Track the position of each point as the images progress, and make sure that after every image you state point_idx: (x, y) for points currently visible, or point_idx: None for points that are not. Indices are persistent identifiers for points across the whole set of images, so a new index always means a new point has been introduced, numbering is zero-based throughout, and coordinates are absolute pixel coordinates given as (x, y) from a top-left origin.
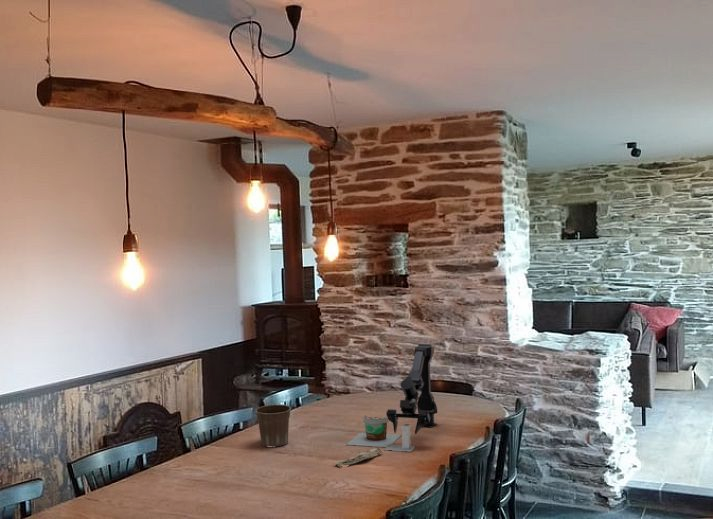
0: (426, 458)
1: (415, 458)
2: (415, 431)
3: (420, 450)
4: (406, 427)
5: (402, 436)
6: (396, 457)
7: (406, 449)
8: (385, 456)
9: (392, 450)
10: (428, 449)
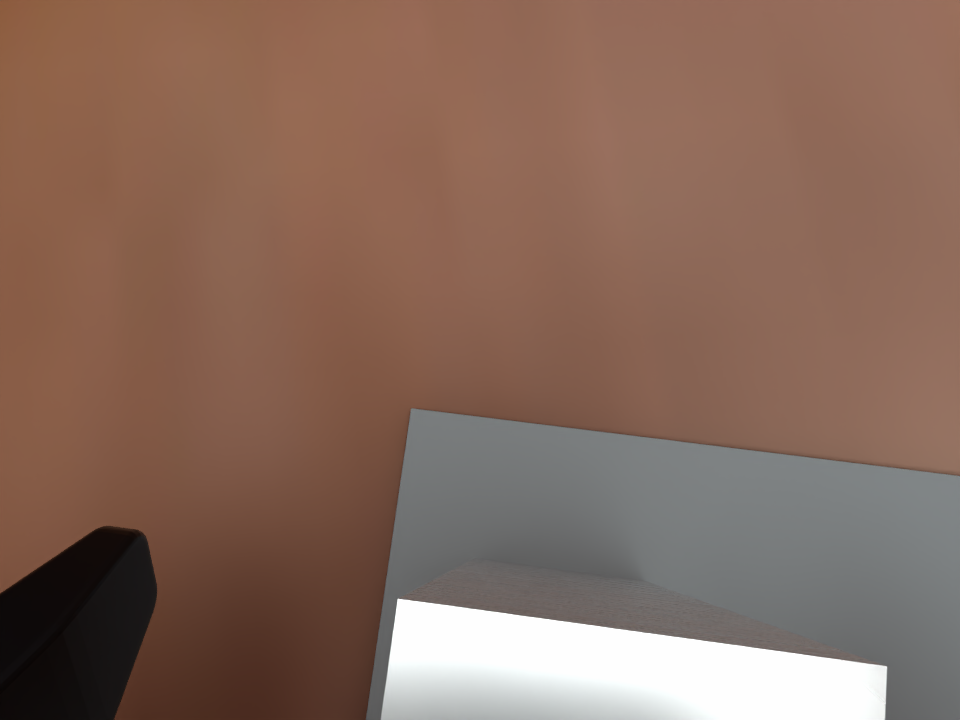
0: (59, 46)
1: (275, 23)
2: (83, 566)
3: (205, 577)
4: (514, 609)
5: (685, 600)
6: (668, 43)
7: (534, 554)
8: (916, 80)
9: (863, 465)
10: None
